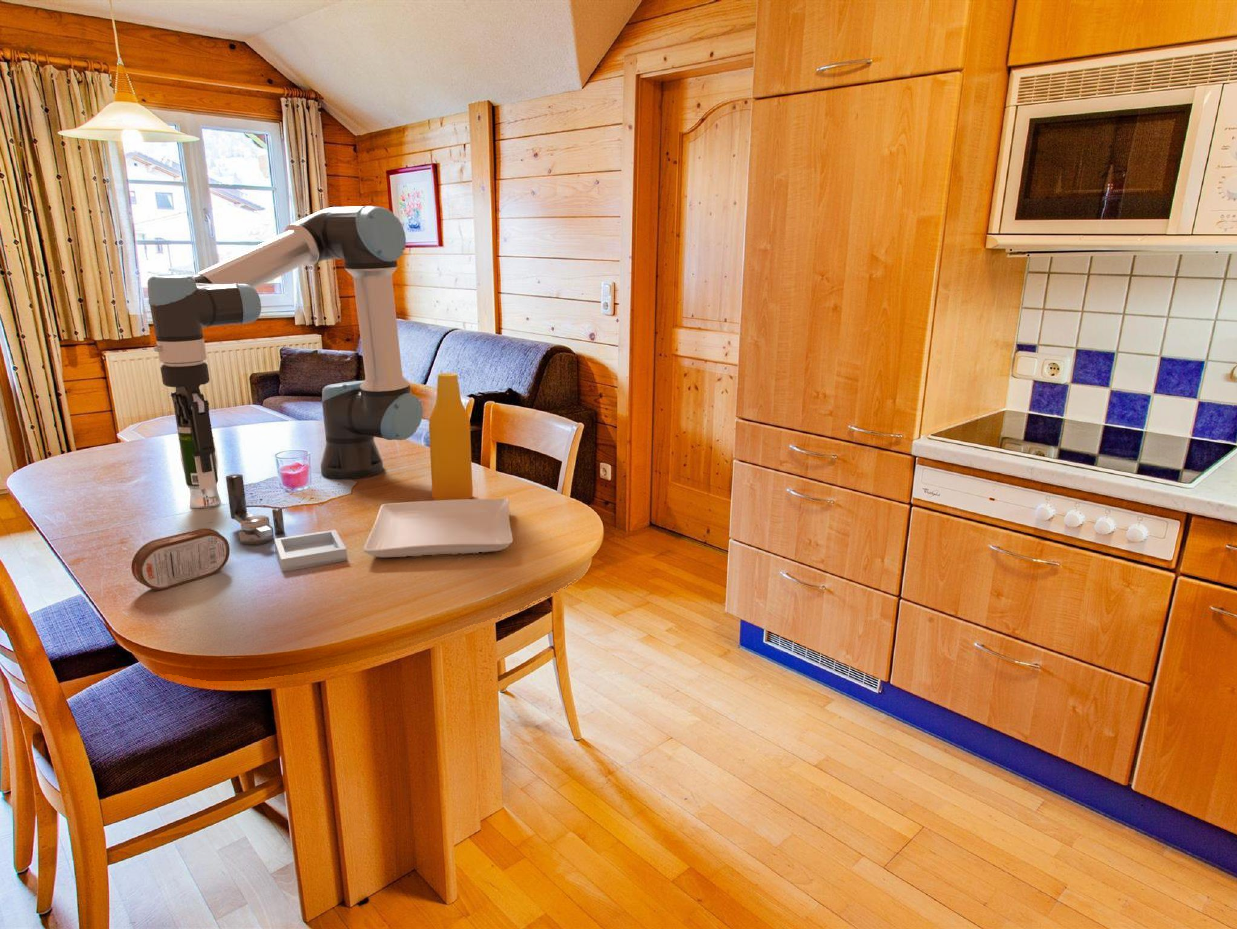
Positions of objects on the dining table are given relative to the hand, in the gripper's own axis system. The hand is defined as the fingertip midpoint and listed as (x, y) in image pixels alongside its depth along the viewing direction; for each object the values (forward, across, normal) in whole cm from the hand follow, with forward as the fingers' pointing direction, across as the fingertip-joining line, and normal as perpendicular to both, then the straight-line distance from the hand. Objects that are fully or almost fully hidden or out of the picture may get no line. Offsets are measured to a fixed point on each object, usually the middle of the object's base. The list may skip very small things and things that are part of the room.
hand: (202, 483), depth 143 cm
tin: (+12, +17, -9) cm, 23 cm away
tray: (+12, +20, +11) cm, 26 cm away
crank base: (+12, +5, +3) cm, 13 cm away
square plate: (+13, +28, +35) cm, 46 cm away
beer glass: (+12, -24, +6) cm, 27 cm away
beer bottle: (+13, +9, +49) cm, 52 cm away
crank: (+9, +3, +7) cm, 12 cm away
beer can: (+1, 0, 0) cm, 1 cm away
